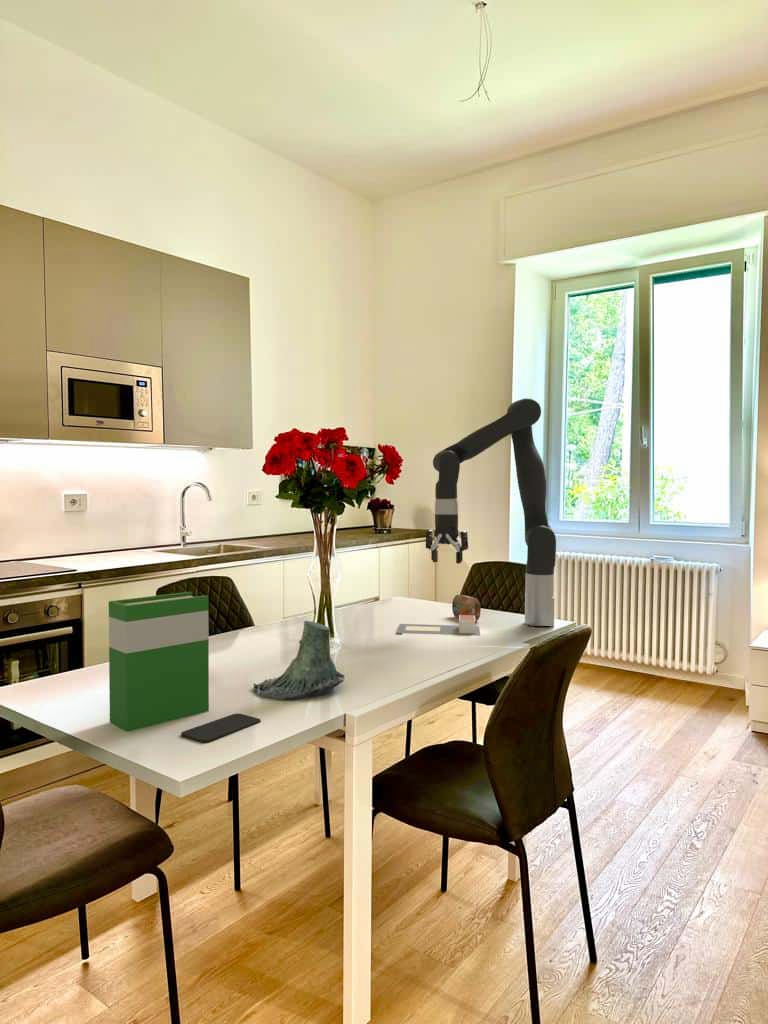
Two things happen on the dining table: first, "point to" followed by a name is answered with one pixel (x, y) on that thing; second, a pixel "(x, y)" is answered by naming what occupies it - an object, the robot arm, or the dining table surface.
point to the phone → (220, 728)
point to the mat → (433, 629)
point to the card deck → (466, 623)
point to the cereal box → (158, 659)
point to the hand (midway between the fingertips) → (446, 562)
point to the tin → (466, 606)
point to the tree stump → (305, 669)
